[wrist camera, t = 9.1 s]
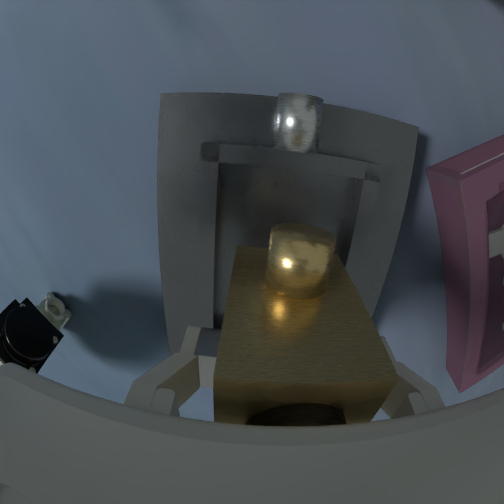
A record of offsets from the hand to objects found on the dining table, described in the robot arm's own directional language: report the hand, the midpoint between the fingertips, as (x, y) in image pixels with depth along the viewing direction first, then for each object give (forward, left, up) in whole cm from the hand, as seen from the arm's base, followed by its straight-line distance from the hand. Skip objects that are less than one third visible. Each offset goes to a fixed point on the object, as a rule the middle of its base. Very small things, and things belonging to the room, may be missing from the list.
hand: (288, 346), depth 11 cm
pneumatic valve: (+9, -22, -10) cm, 26 cm away
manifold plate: (0, 0, -10) cm, 10 cm away
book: (-1, +24, -11) cm, 26 cm away
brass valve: (0, 0, -4) cm, 4 cm away
